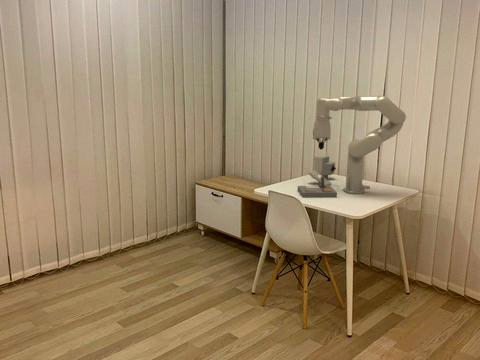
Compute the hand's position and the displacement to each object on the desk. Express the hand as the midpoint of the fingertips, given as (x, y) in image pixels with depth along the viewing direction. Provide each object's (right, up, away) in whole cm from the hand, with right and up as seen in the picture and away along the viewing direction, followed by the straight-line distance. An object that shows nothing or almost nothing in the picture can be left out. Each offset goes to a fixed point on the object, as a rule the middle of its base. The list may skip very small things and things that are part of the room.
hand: (321, 149), depth 287 cm
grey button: (-8, -25, -11) cm, 29 cm away
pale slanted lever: (+2, -22, +18) cm, 28 cm away
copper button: (+2, -27, -10) cm, 29 cm away
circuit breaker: (+8, -18, +34) cm, 39 cm away
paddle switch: (0, -23, -2) cm, 23 cm away
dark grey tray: (-4, -27, -6) cm, 28 cm away
